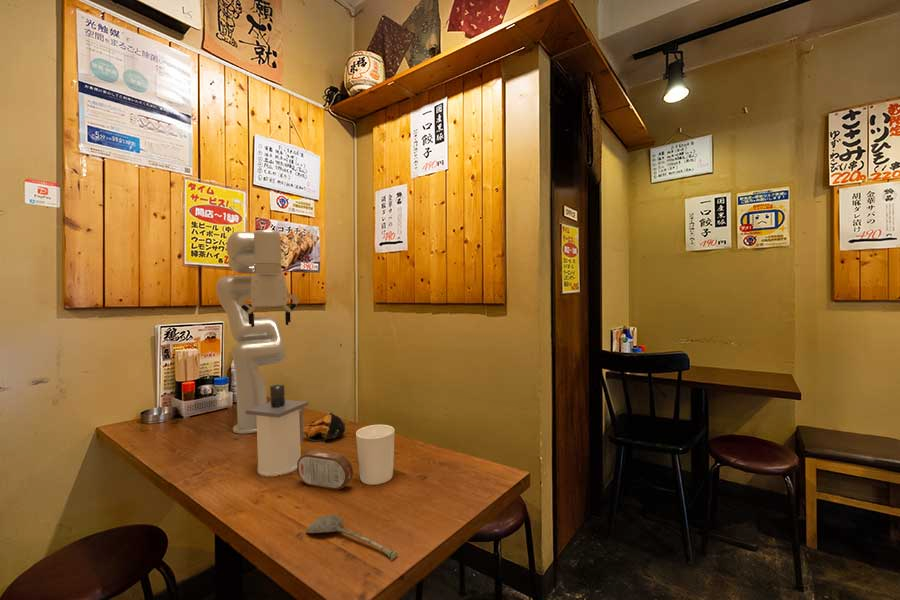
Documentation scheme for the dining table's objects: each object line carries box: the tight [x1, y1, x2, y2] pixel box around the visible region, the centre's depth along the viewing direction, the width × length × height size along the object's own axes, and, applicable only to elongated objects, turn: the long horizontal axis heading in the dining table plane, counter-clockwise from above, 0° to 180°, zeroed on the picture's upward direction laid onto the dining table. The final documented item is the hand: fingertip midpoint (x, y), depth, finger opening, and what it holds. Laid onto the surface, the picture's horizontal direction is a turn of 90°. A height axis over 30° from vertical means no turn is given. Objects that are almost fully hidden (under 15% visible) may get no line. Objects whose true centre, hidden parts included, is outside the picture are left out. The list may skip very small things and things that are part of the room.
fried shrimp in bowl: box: [303, 412, 346, 442], centre depth 126 cm, size 9×11×18 cm
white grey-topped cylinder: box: [246, 399, 309, 477], centre depth 108 cm, size 14×11×17 cm
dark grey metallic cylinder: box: [269, 384, 286, 408], centre depth 107 cm, size 8×8×17 cm
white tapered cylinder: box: [355, 424, 395, 486], centre depth 100 cm, size 10×10×12 cm
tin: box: [296, 449, 354, 491], centre depth 96 cm, size 15×3×8 cm, turn 71°
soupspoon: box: [305, 514, 398, 562], centre depth 74 cm, size 22×3×7 cm
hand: (270, 325), depth 120 cm, fingers open, 9 cm apart
